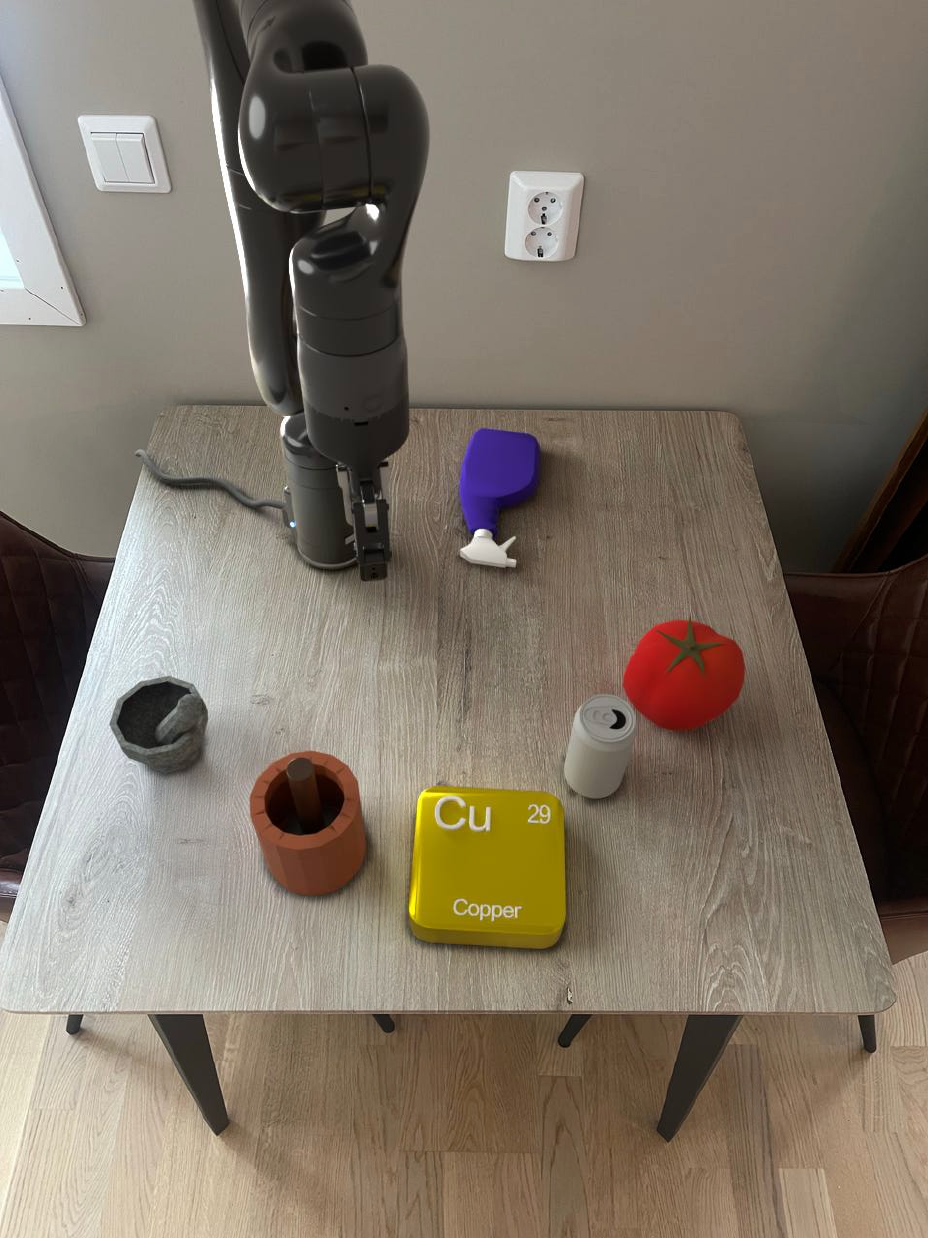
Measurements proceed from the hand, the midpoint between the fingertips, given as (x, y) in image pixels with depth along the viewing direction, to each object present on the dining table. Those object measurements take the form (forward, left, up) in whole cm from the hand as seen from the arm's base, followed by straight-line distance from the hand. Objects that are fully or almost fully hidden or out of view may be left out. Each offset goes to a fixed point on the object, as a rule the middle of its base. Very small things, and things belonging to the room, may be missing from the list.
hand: (367, 539), depth 78 cm
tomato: (+24, +24, -33) cm, 48 cm away
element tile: (+18, -6, -33) cm, 38 cm away
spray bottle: (-11, +39, -33) cm, 52 cm away
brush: (+2, -14, -32) cm, 35 cm away
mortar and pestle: (-18, -14, -33) cm, 40 cm away
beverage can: (+21, +10, -33) cm, 41 cm away
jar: (+2, -14, -33) cm, 36 cm away
